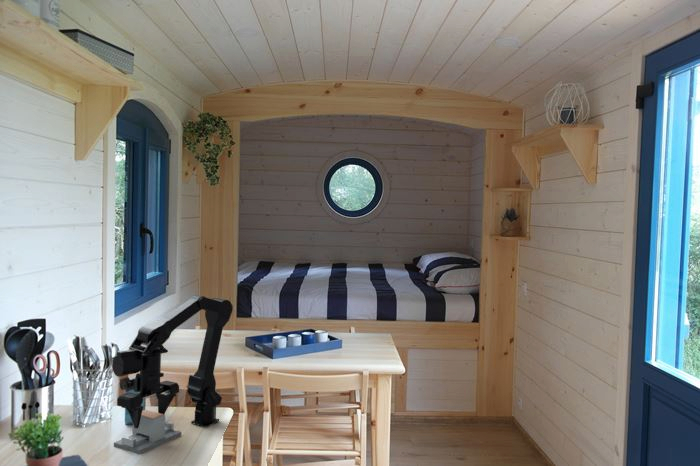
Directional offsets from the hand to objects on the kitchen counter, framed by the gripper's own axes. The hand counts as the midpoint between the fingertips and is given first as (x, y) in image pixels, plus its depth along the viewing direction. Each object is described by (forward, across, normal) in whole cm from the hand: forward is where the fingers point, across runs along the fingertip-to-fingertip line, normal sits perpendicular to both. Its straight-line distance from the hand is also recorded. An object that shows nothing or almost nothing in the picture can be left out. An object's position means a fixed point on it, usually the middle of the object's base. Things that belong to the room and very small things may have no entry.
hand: (148, 423), depth 168 cm
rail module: (+4, 0, 0) cm, 4 cm away
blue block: (+5, -11, -17) cm, 21 cm away
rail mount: (+5, 0, 0) cm, 5 cm away
